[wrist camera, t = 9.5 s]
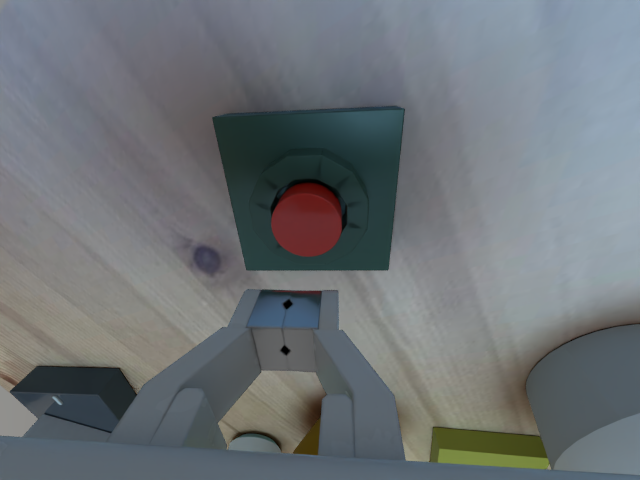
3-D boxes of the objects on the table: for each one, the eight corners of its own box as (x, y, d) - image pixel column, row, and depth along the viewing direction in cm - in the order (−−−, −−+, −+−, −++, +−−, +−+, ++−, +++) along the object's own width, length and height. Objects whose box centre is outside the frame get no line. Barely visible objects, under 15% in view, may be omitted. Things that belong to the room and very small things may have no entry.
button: (273, 182, 14) (266, 194, 13) (341, 181, 14) (341, 192, 12) (281, 241, 16) (275, 257, 14) (341, 240, 16) (342, 257, 14)
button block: (226, 113, 16) (195, 120, 12) (396, 105, 15) (413, 110, 12) (254, 254, 21) (238, 287, 17) (383, 253, 20) (393, 287, 17)
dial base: (24, 365, 30) (-7, 392, 28) (132, 368, 29) (111, 397, 27) (82, 426, 37) (61, 453, 34) (171, 431, 36) (158, 459, 33)
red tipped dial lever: (43, 420, 30) (2, 466, 27) (43, 413, 30) (1, 459, 26) (123, 443, 32) (96, 489, 28) (125, 437, 31) (97, 483, 28)
